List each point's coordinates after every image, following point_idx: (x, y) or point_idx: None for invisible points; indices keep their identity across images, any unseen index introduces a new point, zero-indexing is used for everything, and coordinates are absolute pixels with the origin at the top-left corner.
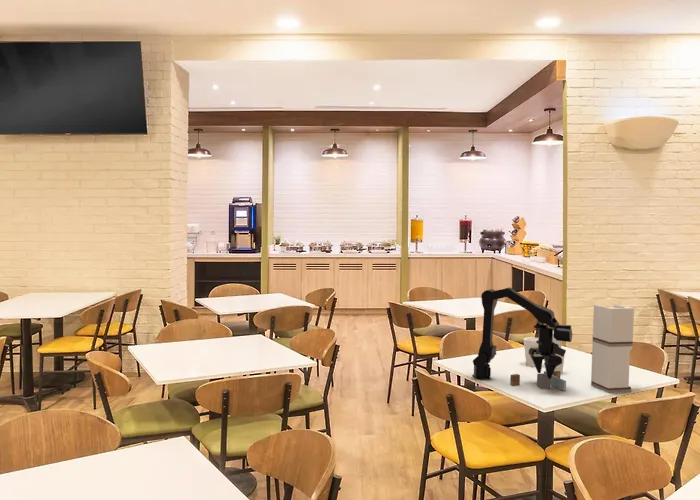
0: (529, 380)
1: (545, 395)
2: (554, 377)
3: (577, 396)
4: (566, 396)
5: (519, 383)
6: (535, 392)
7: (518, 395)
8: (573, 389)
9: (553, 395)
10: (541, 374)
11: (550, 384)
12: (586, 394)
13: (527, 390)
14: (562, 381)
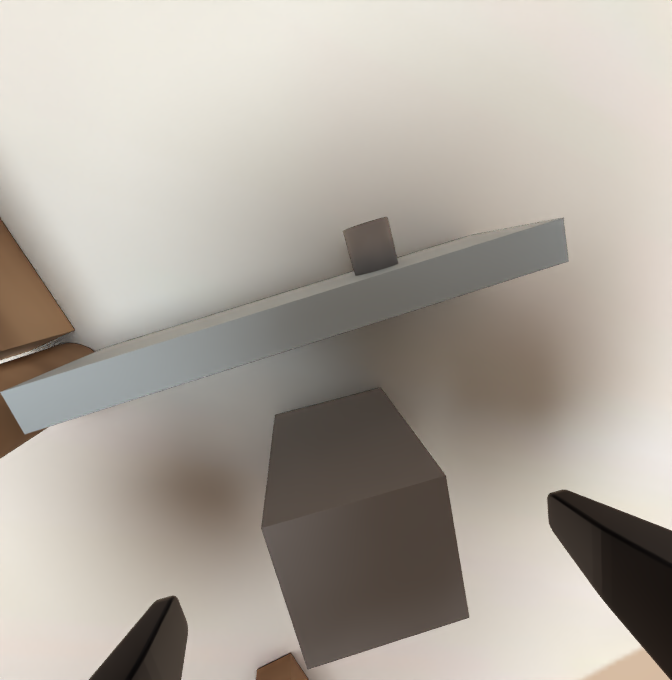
0: (46, 547)
1: (602, 482)
2: (284, 347)
3: (659, 168)
4: (647, 294)
5: (291, 676)
6: (513, 548)
7: (588, 671)
8: (388, 97)
9: (607, 412)
10: (356, 613)
11: (394, 407)
12: (599, 4)
13: None
14: (517, 275)
